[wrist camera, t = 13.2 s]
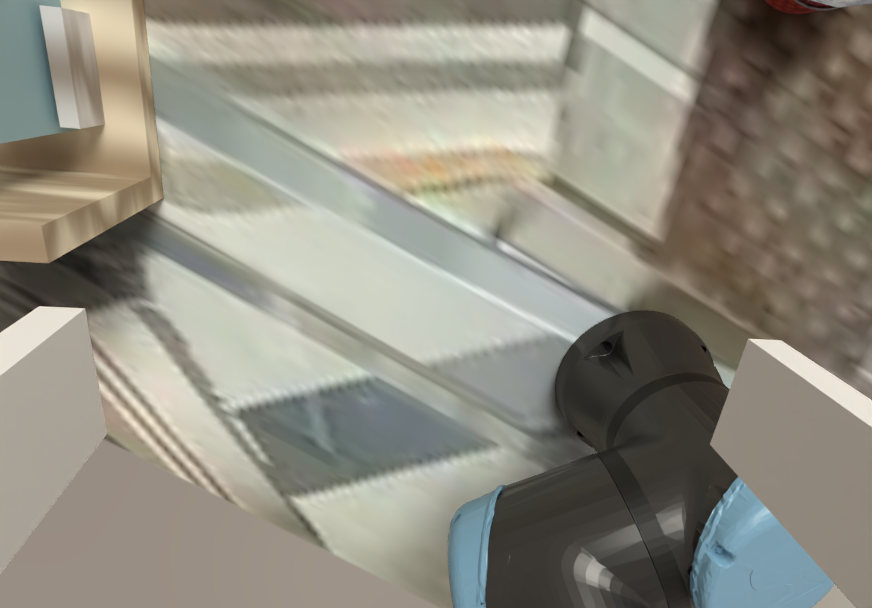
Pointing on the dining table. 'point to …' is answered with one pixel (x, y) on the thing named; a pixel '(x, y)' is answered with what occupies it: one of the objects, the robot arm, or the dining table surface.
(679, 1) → the dining table surface
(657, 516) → the robot arm
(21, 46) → the door
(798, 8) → the canned food
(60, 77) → the hinge base
